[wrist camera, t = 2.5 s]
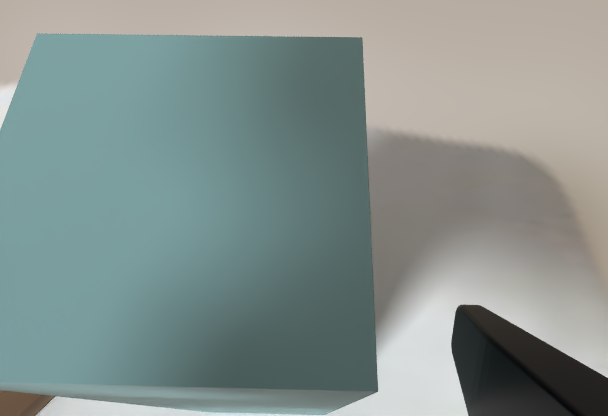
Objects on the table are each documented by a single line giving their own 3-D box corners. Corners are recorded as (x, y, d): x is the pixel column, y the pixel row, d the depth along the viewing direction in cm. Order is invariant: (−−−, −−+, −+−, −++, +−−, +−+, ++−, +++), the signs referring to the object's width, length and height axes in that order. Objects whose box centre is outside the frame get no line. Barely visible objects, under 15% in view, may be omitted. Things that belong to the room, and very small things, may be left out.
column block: (325, 296, 19) (362, 37, 6) (325, 414, 17) (378, 391, 4) (217, 294, 19) (37, 33, 6) (205, 411, 17) (-95, 379, 4)
